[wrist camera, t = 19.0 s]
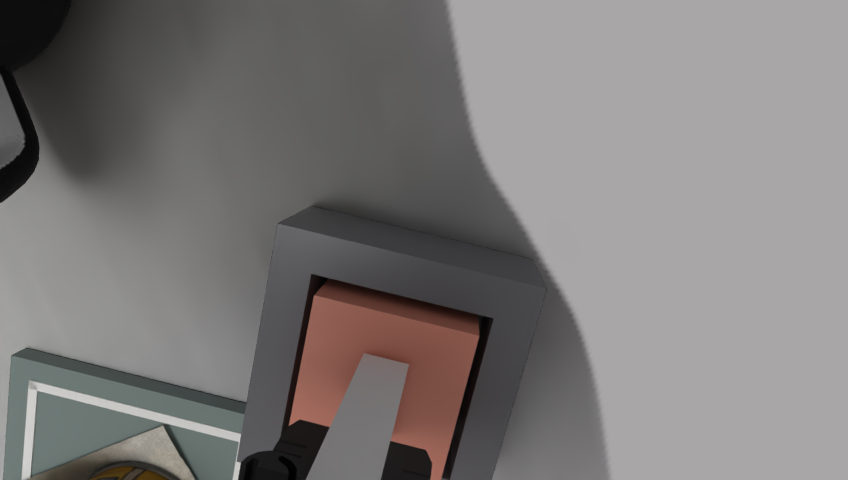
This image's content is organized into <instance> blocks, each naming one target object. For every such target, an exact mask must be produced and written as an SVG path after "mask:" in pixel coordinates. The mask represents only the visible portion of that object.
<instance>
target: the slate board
mask: <svg viewBox="0 0 848 480" xmlns="http://www.w3.org/2000/svg"><path fill="white" fill-rule="evenodd" d="M245 409H246V403H242V402H238V401H234V400H230V399H226V398H222V397H218V396H214V395H211V394H207V393H203V392H199V391H195V390H191V389H187V388H183V387H179V386H175V385H171V384H167V383H163V382H159V381H155V380H151V379H147V378H143V377H139V376H135V375H131V374H127V373H123V372H119V371H115V370H111V369H107V368H103V367H99V366H96V365H92V364H88V363H84V362H80V361H76V360H72V359H68V358H64V357H60V356H56V355H52V354H48V353H44V352H40V351H36V350H32V349H28V348H25V349H23V350H21V351H19V352H17V353H15V354H13V355H11V367H10V382H9V397H8V412H7V427H6V442H5V458H4V473H3V480H27V479H29V478H31V477H34V476H36V475H38V474H41V473H44V472H47V471H49V470H52V469H54V468H57V467H60V466H63V465H65V464H68V463H70V462H72V461H74V460H76V459H79V458H82V457H84V456H86V455H89V454H91V453H93V452H97V451H99V450H101V449H103V448H106V447H108V446H111V445H114V444H117V443H120V442H122V441H124V440H126V439H129V438H132V437H134V436H137V435H140V434H143V433H145V432H148V431H150V430H153V429H156V428H158V427H161V426H164V428H165V430H166V432H167V434H168V436H169V438H170V440H171V441H172V443H173V445H174V446H175V448H176V450H177V452H178V454H179V456H180V457H181V458H182V459H183V460H184V463H185V464H186V466H187V467H188V468H189V470H190V472H191V474H192V475H193V477H194V479H195V480H238V476H239V470H240V465H241V463H240V462H236V461H237V455H238V450H239V444H240V438H241V432H242V426H243V421H244V415H245Z"/></svg>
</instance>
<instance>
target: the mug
mask: <svg viewBox="0 0 848 480" xmlns="http://www.w3.org/2000/svg"><path fill="white" fill-rule="evenodd" d="M70 3H71V0H0V203H1V202H3V201H4V200H5V199H7V198H8V197H9V196H11V195H12V194H13V193H14V192H15V191H16V190H18V189H19V188H20V187H21V186H22V185H23V184H25V182H26V181H27V180H28V179H29V177H30V176H31V175H32V173H33V172H34V170H35V168H36V165H37V163H38V161H39V141H38V136H37V133H36V130H35V128H34V125H33V122H32V119H31V117H30V114H29V111H28V109H27V107H26V104H25V102H24V100H23V97H22V95H21V93H20V90H19V88H18V86H17V84H16V81H15V79H14V77H13V74H12V71H15V70H17V69H18V68H20V67H22V66H23V65H25V64H27V63H28V62H30V61H31V60H32V59H34V58H35V57H36V56H37V55H38V54H39V53H40V52H42V51H43V50H44V49H45V48H46V47H47V46H48V45H49V43H50V42H51V41H52V39H53V38H54V36H55V35H56V33H57V32H58V31H59V29H60V28H61V25H62V23H63V21H64V19H65V16H66V14H67V12H68V10H69V7H70Z"/></svg>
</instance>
